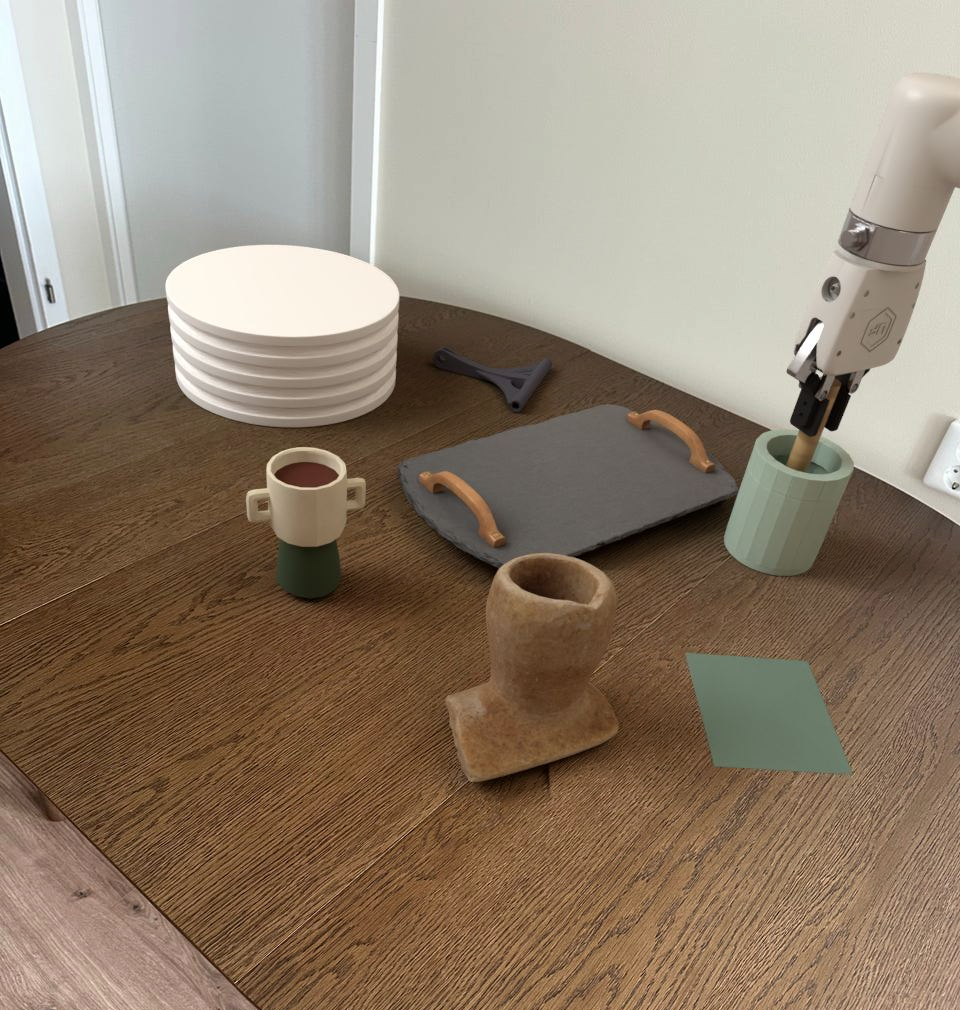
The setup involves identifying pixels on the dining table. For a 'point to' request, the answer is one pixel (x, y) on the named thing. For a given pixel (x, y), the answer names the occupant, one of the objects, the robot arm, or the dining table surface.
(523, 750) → the stone cup
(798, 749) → the mat
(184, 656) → the dining table surface
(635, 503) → the serving tray
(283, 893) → the dining table surface
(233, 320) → the plate stack
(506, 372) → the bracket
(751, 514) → the jar
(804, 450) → the wood and black rod
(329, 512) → the character mug
